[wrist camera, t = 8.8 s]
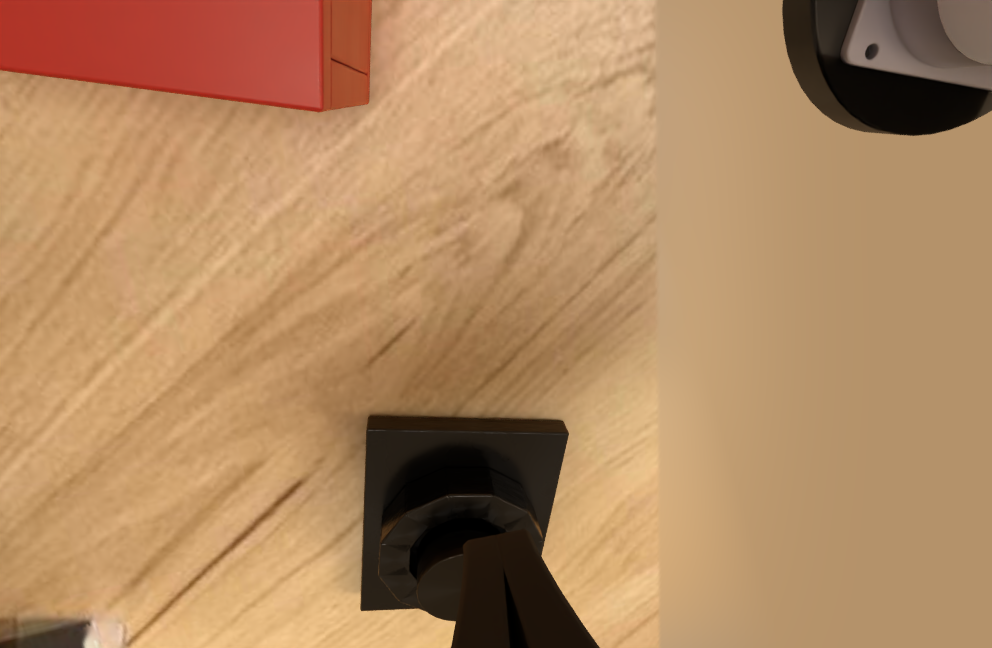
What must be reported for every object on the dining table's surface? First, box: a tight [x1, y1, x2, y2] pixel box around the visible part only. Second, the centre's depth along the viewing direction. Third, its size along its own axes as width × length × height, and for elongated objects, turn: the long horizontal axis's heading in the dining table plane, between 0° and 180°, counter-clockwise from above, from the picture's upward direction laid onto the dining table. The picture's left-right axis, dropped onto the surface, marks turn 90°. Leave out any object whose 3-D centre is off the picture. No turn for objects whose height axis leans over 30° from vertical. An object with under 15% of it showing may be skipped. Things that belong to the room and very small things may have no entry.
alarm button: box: [417, 519, 501, 621], centre depth 20 cm, size 4×4×2 cm
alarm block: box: [360, 416, 569, 611], centre depth 21 cm, size 8×10×2 cm
